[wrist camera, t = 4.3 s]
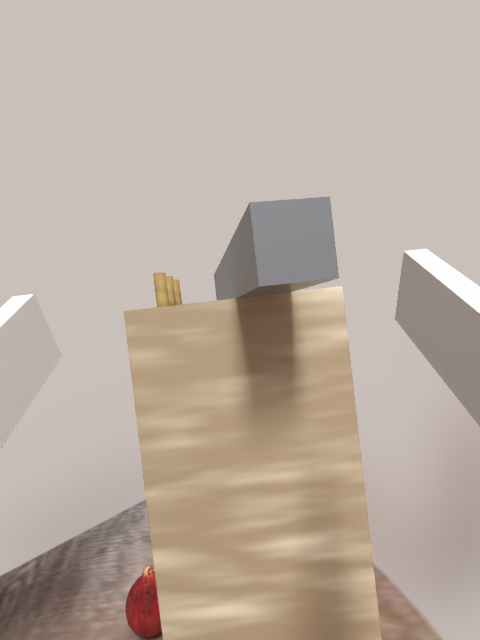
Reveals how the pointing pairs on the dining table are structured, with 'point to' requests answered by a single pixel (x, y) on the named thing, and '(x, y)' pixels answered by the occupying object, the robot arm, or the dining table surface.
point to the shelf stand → (252, 467)
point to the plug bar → (279, 249)
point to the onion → (144, 605)
